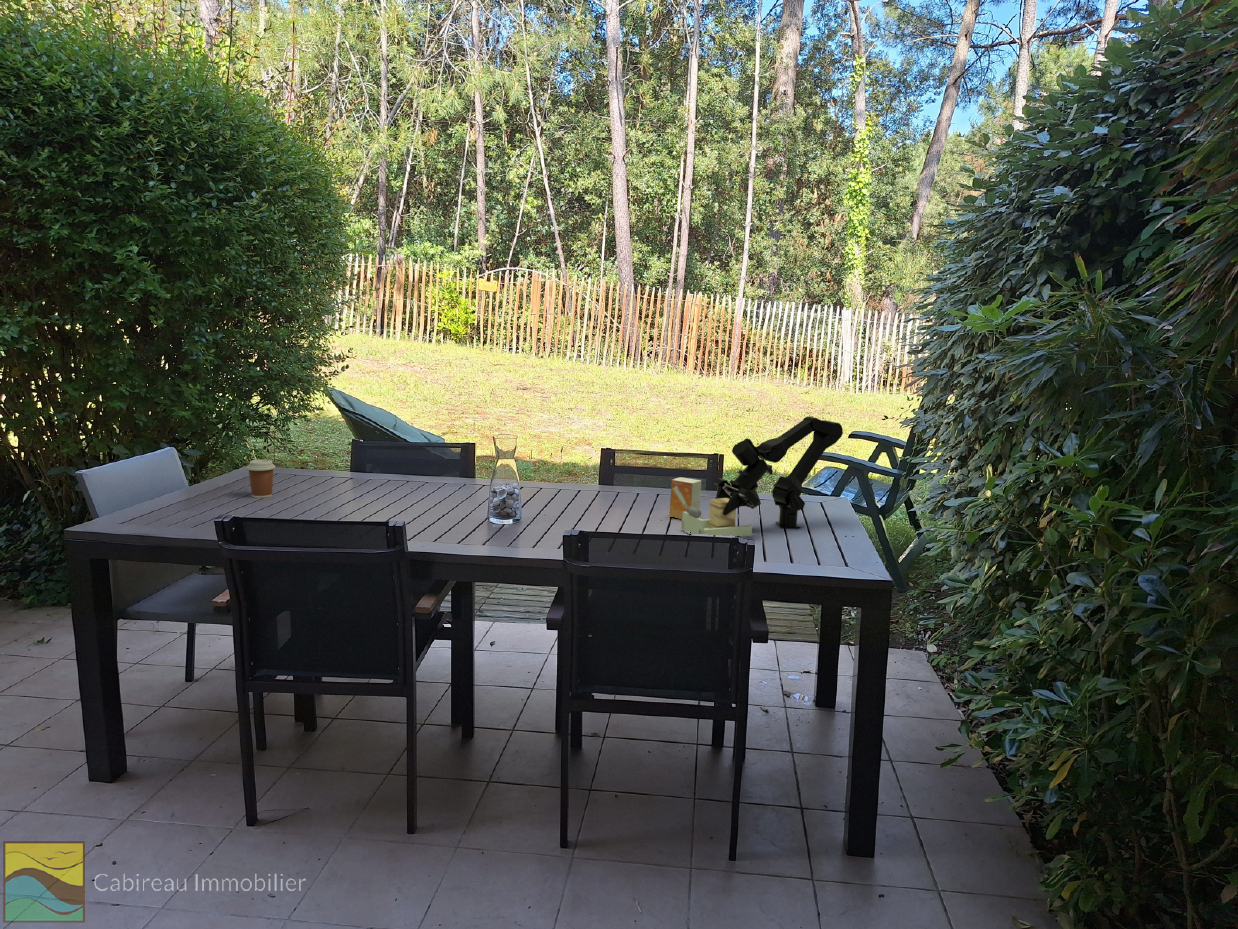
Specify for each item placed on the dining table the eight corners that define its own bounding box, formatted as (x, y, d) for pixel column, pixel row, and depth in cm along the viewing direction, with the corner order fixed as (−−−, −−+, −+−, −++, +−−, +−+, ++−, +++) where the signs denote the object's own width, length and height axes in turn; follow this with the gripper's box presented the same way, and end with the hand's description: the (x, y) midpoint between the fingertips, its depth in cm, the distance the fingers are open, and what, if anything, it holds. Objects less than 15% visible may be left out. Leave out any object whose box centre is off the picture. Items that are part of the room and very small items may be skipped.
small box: (669, 518, 291) (670, 479, 288) (678, 514, 296) (680, 476, 294) (690, 522, 286) (692, 482, 284) (699, 518, 292) (702, 480, 289)
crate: (725, 527, 278) (727, 497, 276) (734, 531, 273) (736, 501, 271) (708, 528, 275) (710, 499, 274) (717, 533, 270) (719, 502, 269)
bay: (733, 526, 283) (735, 500, 281) (753, 535, 272) (755, 508, 271) (680, 530, 275) (681, 504, 273) (698, 540, 264) (699, 512, 263)
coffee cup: (269, 499, 297) (268, 464, 295) (242, 498, 297) (241, 463, 295) (280, 493, 306) (279, 459, 304) (254, 492, 306) (253, 458, 304)
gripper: (782, 498, 270) (749, 536, 268) (749, 486, 287) (718, 521, 284) (762, 474, 265) (728, 512, 263) (729, 463, 282) (698, 499, 280)
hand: (718, 512), depth 273 cm, fingers closed on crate, 6 cm apart
